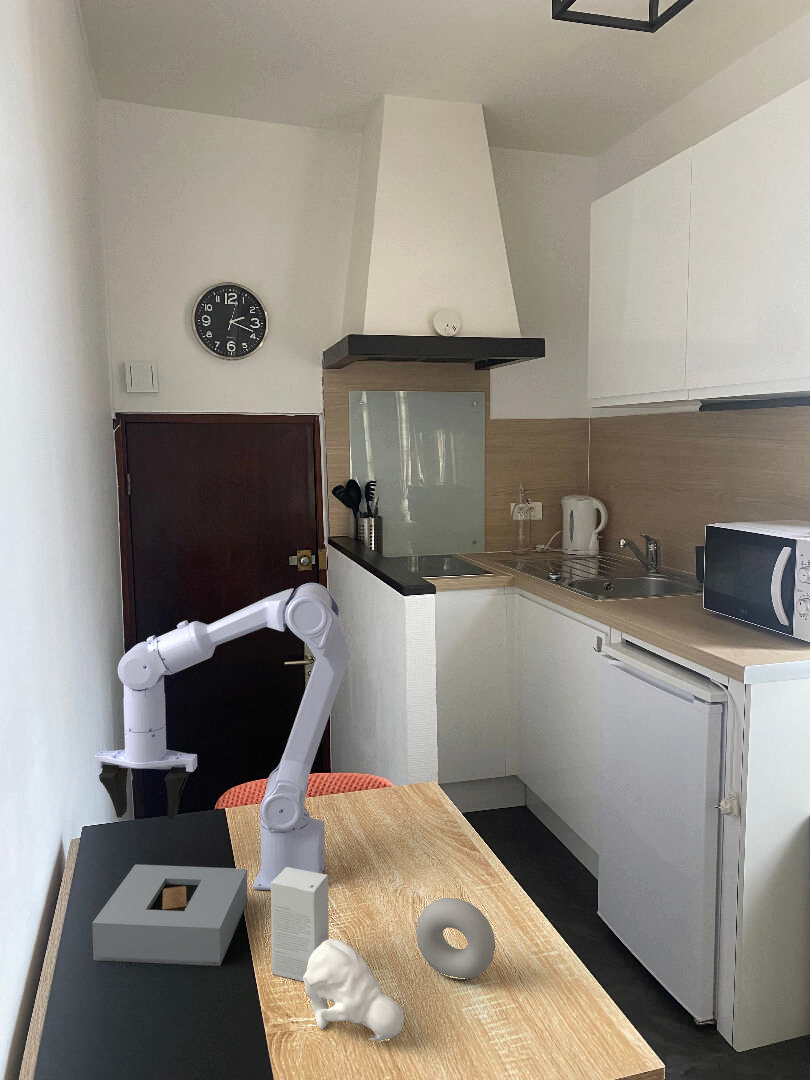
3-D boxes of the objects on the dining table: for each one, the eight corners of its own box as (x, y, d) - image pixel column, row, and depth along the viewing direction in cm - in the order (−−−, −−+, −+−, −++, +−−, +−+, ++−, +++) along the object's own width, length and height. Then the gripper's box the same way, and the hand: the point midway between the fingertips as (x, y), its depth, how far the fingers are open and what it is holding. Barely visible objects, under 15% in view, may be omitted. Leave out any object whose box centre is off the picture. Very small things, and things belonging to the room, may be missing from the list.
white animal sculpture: (334, 921, 95) (421, 967, 88) (328, 985, 96) (413, 1035, 90) (299, 949, 89) (389, 1000, 83) (294, 1017, 91) (381, 1071, 84)
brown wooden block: (186, 913, 110) (186, 885, 109) (186, 934, 105) (186, 906, 105) (163, 916, 109) (163, 888, 109) (163, 938, 104) (162, 909, 104)
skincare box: (329, 964, 100) (330, 874, 99) (315, 986, 96) (315, 892, 95) (286, 954, 102) (285, 865, 101) (269, 974, 98) (269, 882, 97)
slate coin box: (247, 902, 114) (247, 868, 113) (220, 965, 100) (219, 928, 99) (136, 897, 114) (135, 864, 114) (93, 960, 100) (92, 922, 100)
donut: (411, 974, 99) (412, 898, 97) (420, 958, 102) (422, 883, 101) (490, 996, 95) (492, 916, 94) (497, 978, 98) (499, 901, 97)
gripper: (202, 718, 120) (204, 804, 122) (107, 715, 121) (110, 801, 122) (187, 735, 113) (189, 826, 115) (86, 731, 114) (89, 823, 115)
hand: (147, 815), depth 118 cm, fingers open, 7 cm apart
